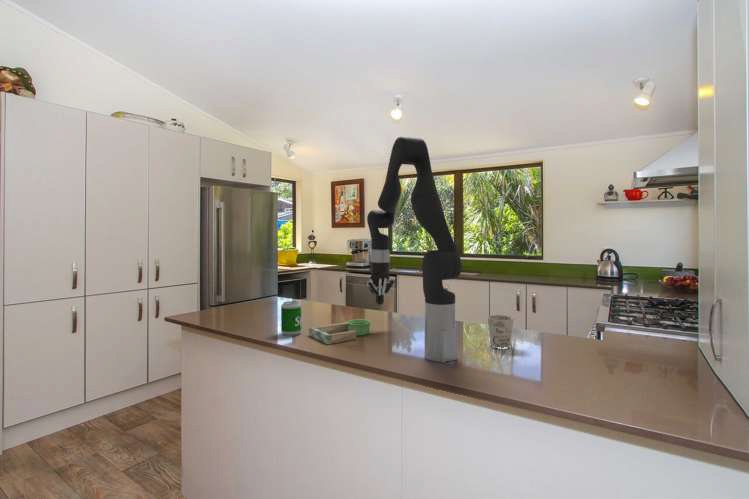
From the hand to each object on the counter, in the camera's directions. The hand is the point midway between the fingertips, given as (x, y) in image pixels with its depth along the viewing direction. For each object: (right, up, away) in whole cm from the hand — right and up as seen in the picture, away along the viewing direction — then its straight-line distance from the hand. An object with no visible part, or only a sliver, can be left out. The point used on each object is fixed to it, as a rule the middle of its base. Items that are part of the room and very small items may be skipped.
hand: (379, 304), depth 160 cm
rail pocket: (-14, -10, -9) cm, 20 cm away
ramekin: (-8, -11, -5) cm, 14 cm away
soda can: (-34, -10, -7) cm, 36 cm away
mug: (+41, -11, -22) cm, 48 cm away
